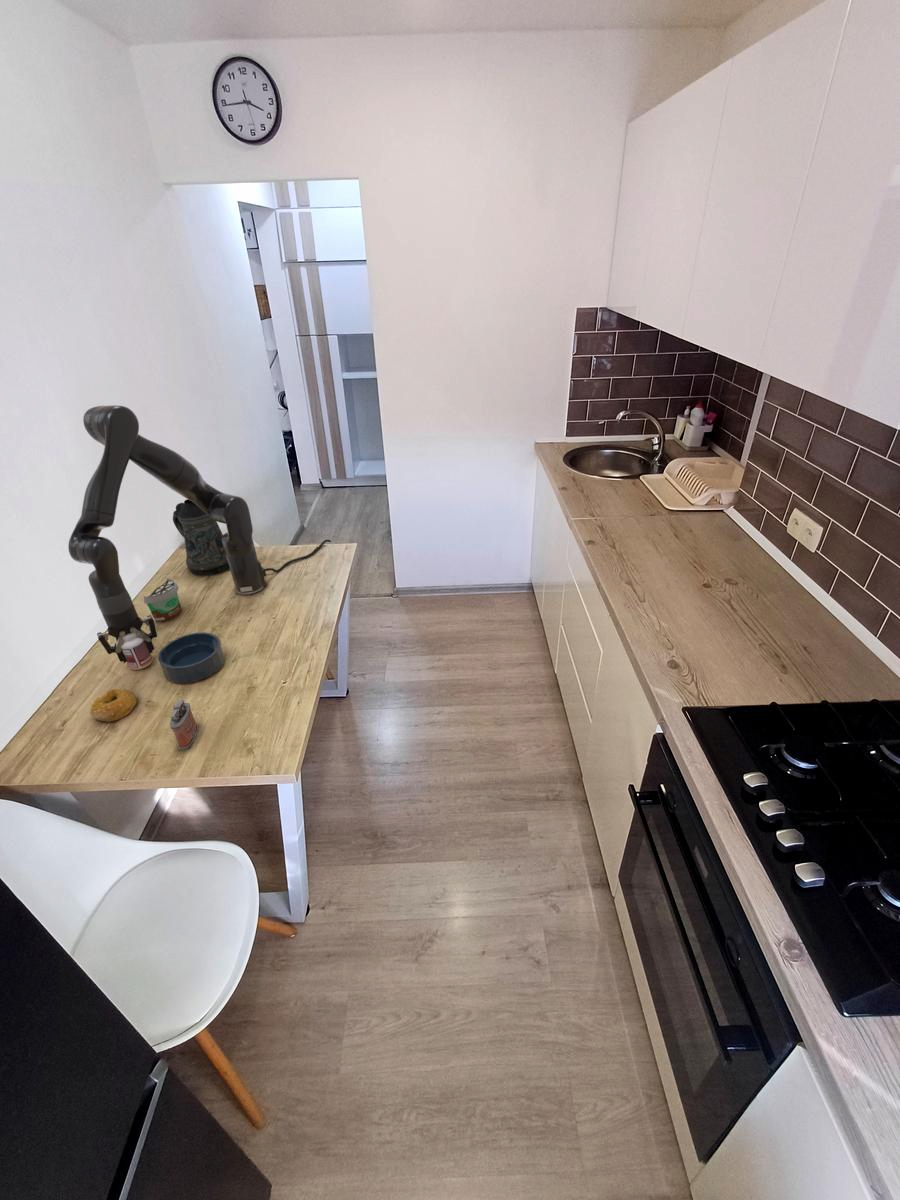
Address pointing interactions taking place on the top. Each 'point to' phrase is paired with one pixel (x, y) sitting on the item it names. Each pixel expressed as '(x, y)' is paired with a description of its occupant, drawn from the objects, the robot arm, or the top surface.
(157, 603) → the food container
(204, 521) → the beer stein
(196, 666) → the bowl
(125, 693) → the bagel
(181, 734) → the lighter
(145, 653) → the pill bottle
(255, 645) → the top surface
